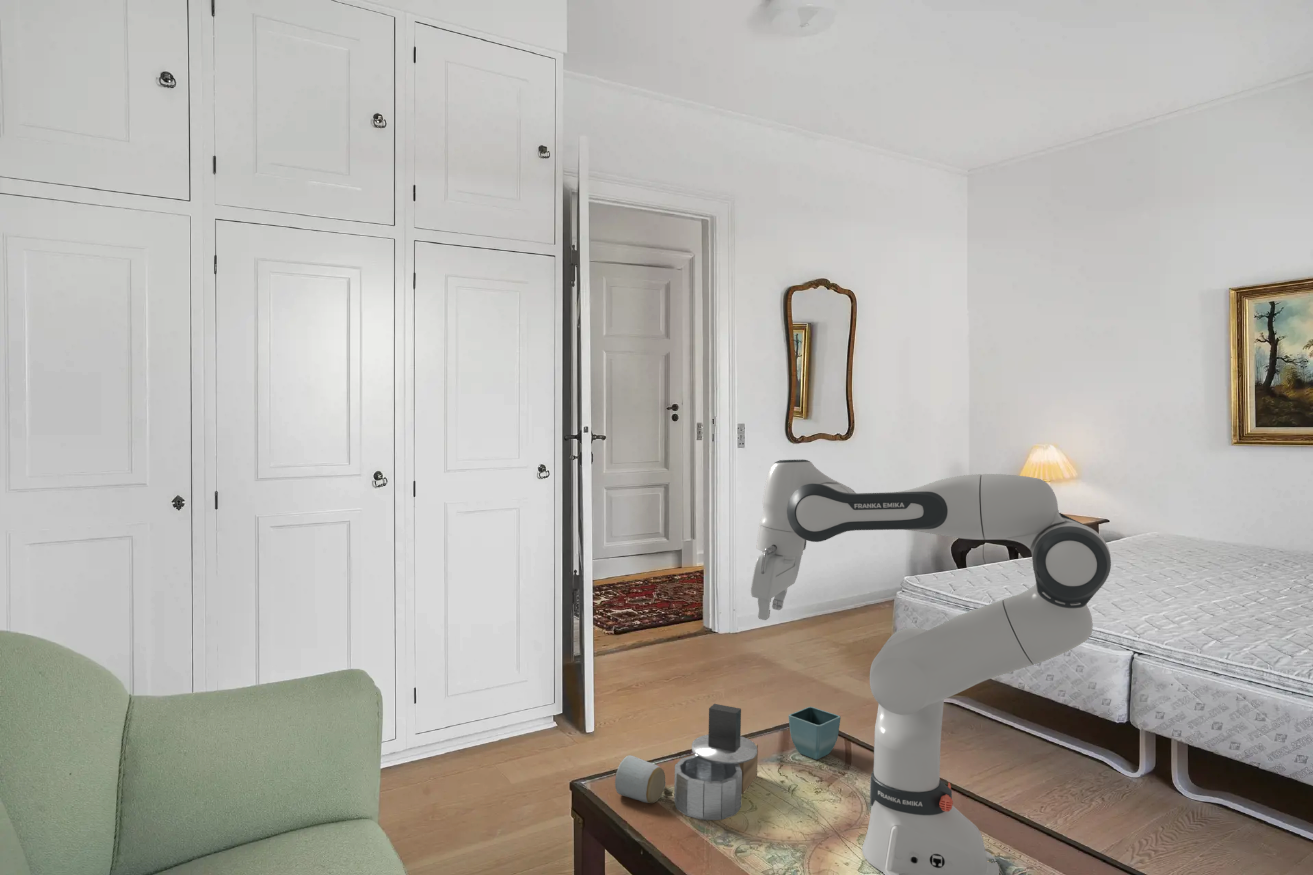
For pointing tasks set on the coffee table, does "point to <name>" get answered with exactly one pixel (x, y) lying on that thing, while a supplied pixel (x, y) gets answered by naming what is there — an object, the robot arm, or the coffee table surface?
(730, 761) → the lid
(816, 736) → the flower pot
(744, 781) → the tan block
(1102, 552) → the robot arm
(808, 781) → the coffee table surface
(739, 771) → the pot
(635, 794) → the ceramic mug
